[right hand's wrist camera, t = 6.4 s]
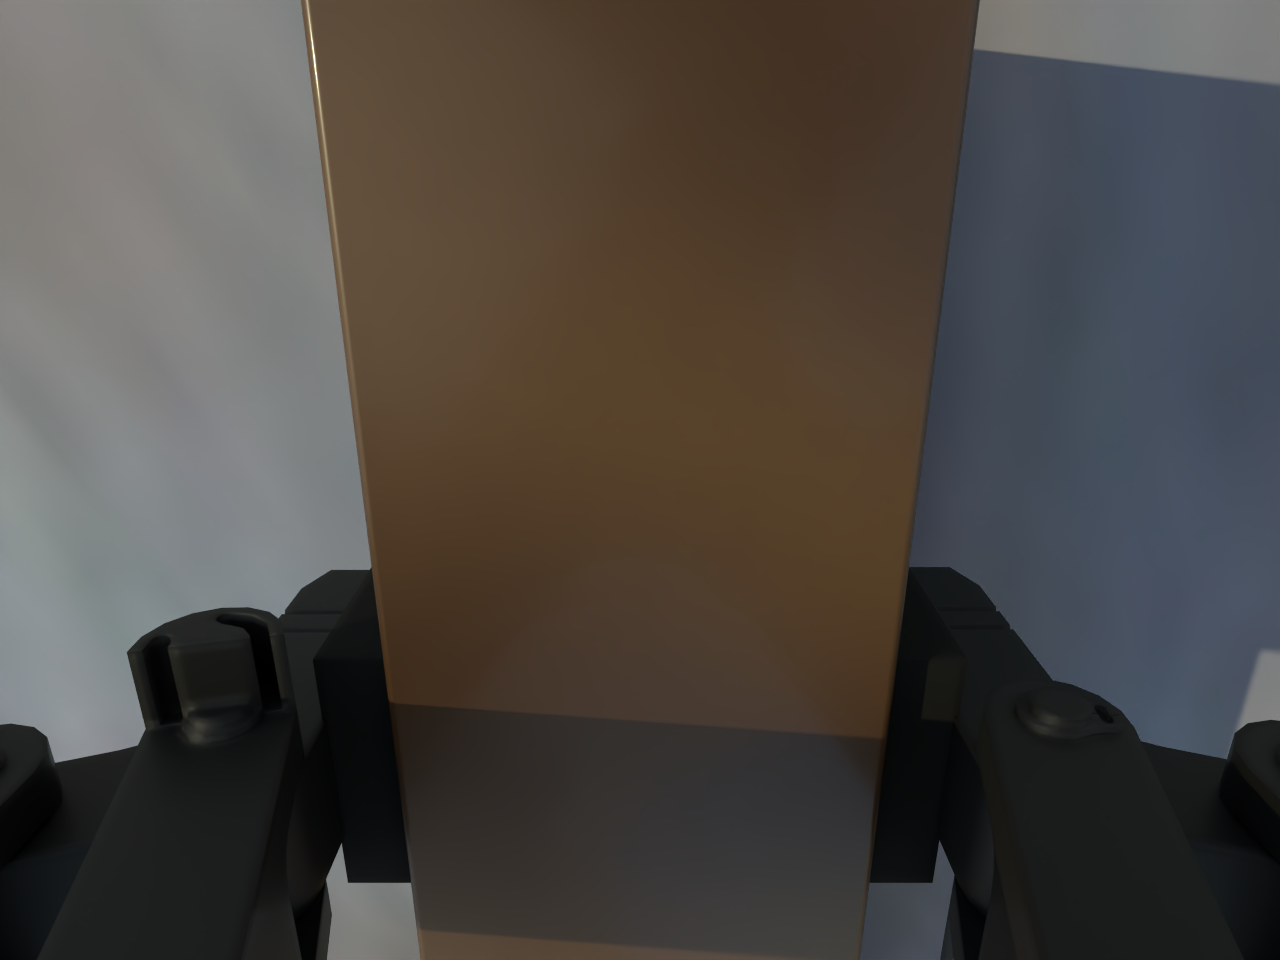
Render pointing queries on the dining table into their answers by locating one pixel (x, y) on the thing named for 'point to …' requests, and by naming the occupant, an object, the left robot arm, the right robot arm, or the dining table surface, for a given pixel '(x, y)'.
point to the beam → (640, 445)
